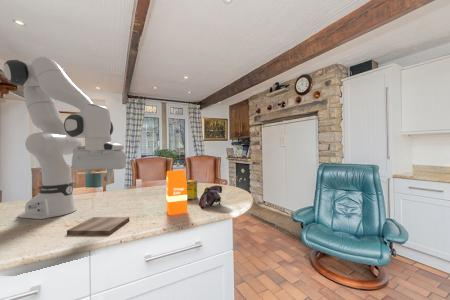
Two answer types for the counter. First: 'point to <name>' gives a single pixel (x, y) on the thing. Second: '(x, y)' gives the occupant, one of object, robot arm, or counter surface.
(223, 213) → the counter surface
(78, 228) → the chopping board
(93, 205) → the counter surface
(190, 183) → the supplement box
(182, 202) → the orange juice
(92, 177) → the beech block
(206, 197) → the decorative flower
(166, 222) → the counter surface
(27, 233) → the counter surface
